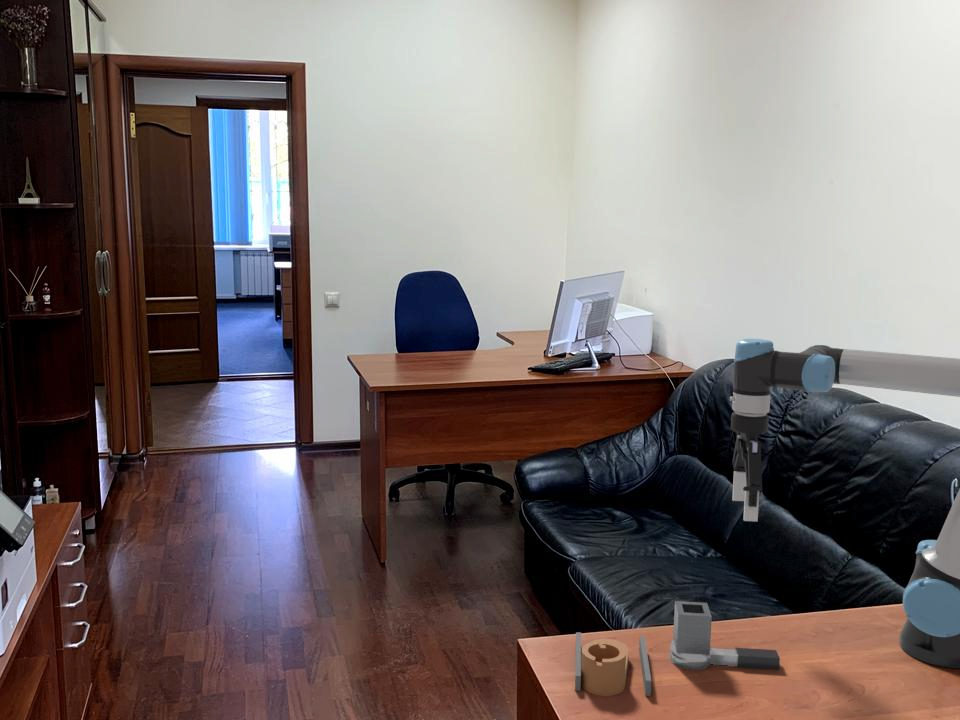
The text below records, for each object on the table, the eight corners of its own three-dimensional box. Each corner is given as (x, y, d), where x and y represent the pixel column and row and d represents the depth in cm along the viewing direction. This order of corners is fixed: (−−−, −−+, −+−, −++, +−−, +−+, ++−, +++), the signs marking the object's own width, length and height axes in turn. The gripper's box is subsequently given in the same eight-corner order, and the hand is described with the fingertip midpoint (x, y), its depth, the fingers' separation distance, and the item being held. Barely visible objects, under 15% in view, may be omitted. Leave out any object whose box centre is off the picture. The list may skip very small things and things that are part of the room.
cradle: (643, 650, 181) (644, 636, 180) (650, 695, 163) (651, 680, 163) (575, 645, 182) (576, 632, 182) (575, 690, 165) (575, 675, 164)
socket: (673, 637, 180) (675, 601, 179) (705, 640, 179) (707, 602, 178) (676, 652, 174) (678, 614, 172) (709, 654, 173) (711, 616, 172)
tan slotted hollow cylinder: (622, 699, 162) (624, 664, 161) (578, 693, 164) (579, 658, 163) (629, 654, 180) (631, 622, 178) (589, 649, 181) (590, 617, 180)
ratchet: (772, 656, 179) (775, 623, 178) (781, 676, 171) (783, 642, 170) (668, 649, 181) (669, 617, 180) (672, 668, 173) (673, 635, 172)
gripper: (722, 400, 197) (717, 492, 200) (742, 425, 172) (736, 528, 175) (756, 401, 196) (751, 493, 199) (781, 426, 171) (775, 530, 175)
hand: (744, 510), depth 187 cm, fingers open, 13 cm apart
